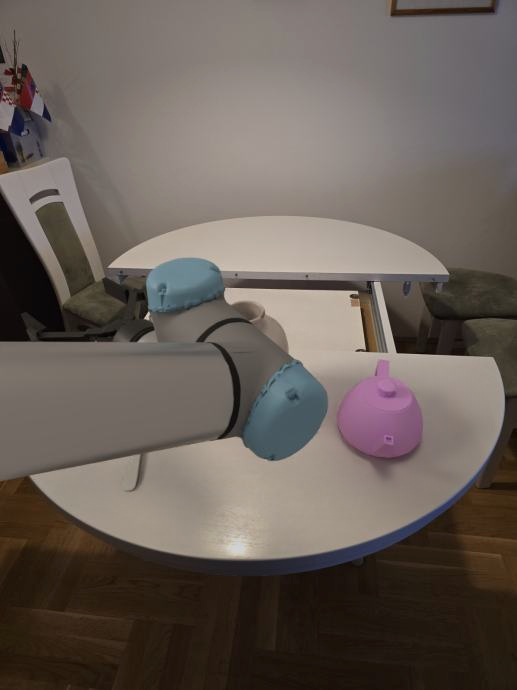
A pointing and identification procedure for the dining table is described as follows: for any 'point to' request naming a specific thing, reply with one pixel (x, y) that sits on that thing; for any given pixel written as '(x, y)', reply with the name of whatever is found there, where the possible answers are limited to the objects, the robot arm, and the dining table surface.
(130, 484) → the fork
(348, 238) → the dining table surface
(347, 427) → the teapot
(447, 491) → the dining table surface
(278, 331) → the vase
